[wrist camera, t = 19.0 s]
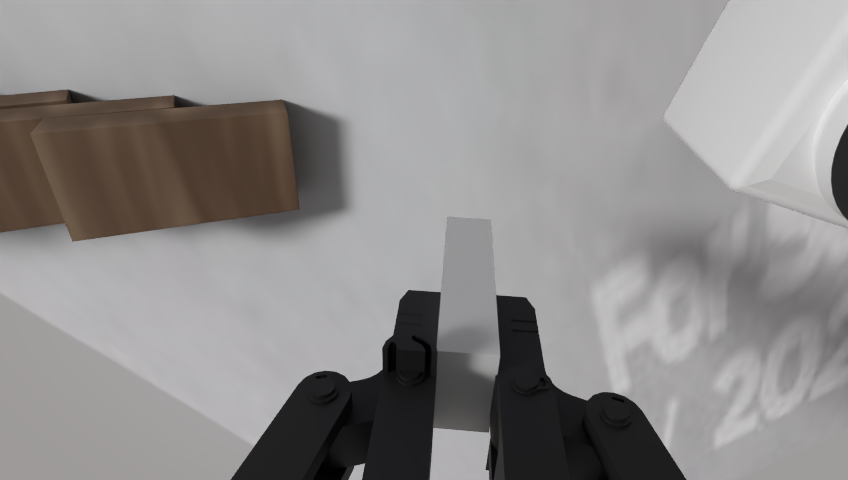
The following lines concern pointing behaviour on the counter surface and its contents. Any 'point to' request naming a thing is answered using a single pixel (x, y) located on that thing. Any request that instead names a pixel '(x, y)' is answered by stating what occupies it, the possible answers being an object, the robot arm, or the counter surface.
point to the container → (773, 104)
